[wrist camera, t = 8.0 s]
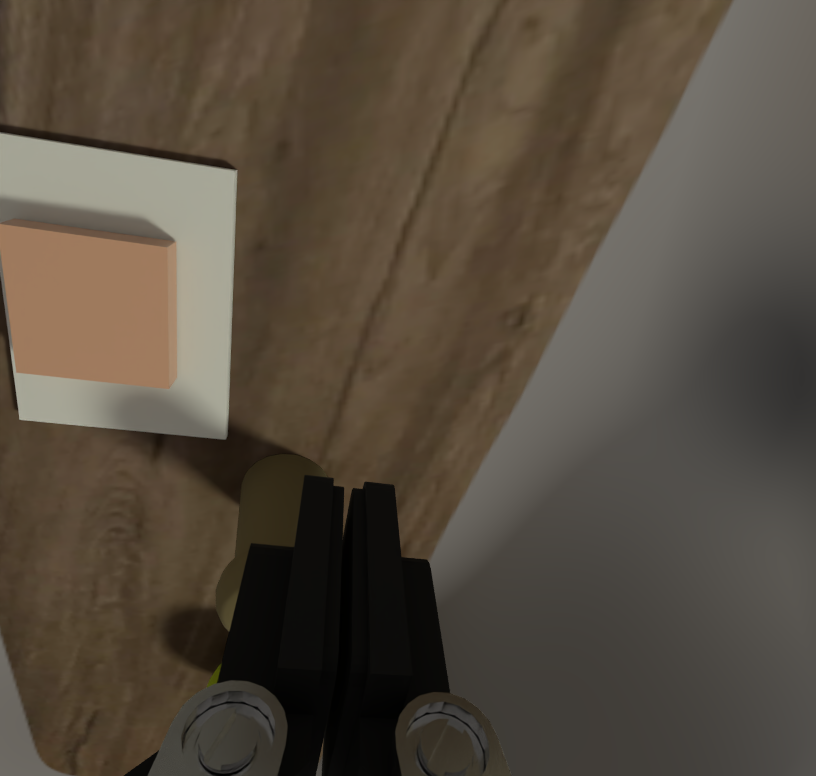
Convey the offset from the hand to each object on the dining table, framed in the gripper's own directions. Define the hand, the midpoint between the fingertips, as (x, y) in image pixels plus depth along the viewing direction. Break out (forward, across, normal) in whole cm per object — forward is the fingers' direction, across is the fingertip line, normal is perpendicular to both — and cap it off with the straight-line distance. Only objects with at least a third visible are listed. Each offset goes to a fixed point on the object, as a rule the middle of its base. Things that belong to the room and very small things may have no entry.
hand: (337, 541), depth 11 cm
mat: (+24, +12, +5) cm, 27 cm away
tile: (+22, +9, +5) cm, 25 cm away
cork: (+24, +2, +17) cm, 29 cm away
